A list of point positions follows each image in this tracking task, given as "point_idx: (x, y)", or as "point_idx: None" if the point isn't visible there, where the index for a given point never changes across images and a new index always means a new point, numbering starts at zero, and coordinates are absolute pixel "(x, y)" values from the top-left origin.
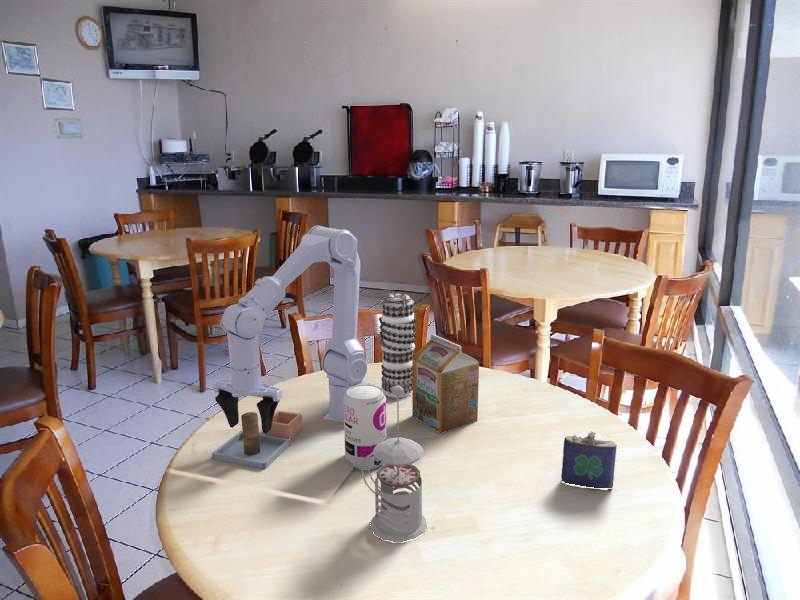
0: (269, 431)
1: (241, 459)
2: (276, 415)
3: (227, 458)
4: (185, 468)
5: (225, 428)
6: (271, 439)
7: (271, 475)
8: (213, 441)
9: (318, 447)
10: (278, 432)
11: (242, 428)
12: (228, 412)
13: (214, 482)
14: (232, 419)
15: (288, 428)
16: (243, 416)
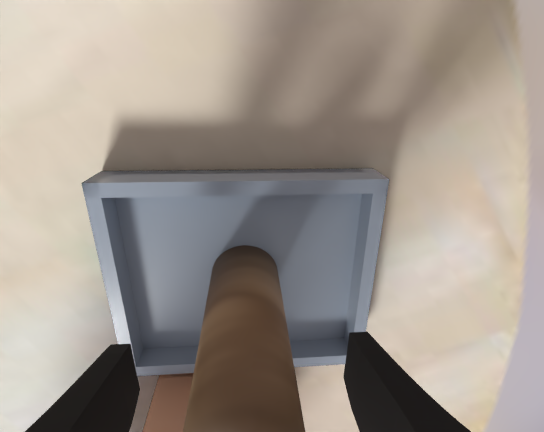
0: None
1: (220, 181)
2: None
3: (300, 177)
4: (466, 79)
5: (437, 369)
6: None
7: (54, 155)
8: (441, 292)
9: (40, 378)
10: None
11: (277, 338)
12: (412, 428)
13: (268, 6)
14: (369, 382)
15: (144, 427)
16: (282, 426)
